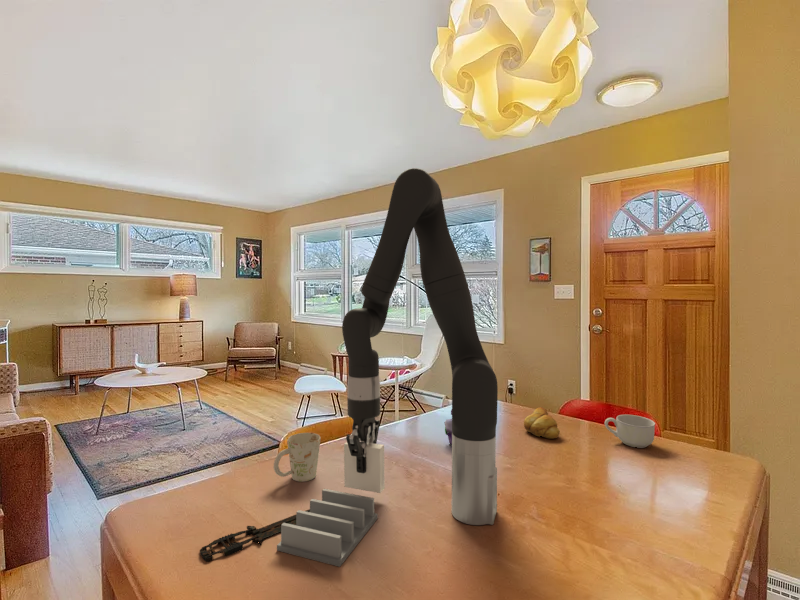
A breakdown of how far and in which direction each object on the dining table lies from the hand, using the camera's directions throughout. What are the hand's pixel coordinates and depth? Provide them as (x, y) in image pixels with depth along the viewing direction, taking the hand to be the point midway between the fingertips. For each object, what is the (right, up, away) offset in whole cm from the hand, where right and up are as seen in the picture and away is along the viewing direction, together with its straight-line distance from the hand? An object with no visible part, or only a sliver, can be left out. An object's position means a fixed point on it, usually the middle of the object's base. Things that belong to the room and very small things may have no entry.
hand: (364, 469), depth 95 cm
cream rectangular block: (0, -4, 0) cm, 4 cm away
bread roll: (+56, -7, +44) cm, 72 cm away
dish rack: (-5, -7, -14) cm, 17 cm away
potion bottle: (+26, -7, +35) cm, 44 cm away
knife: (-18, -7, -13) cm, 23 cm away
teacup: (+81, -7, +36) cm, 89 cm away
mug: (-18, -7, +10) cm, 22 cm away
